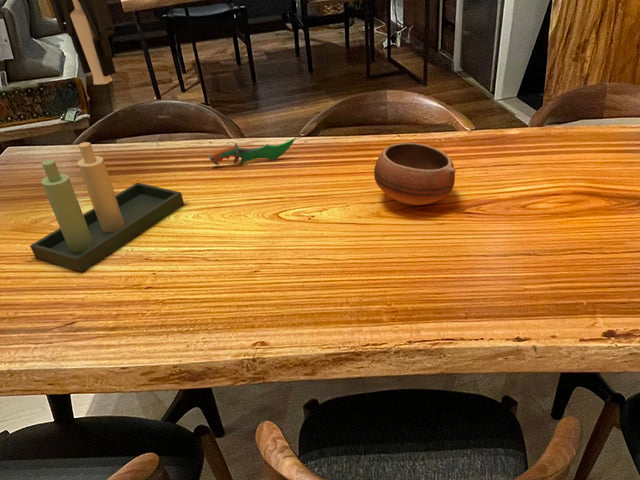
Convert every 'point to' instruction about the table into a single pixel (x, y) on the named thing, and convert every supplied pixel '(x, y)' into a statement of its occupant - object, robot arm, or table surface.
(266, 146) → the knife
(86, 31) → the perfume bottle
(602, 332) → the table surface
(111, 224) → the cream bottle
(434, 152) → the bowl
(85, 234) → the sage bottle
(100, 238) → the tray
